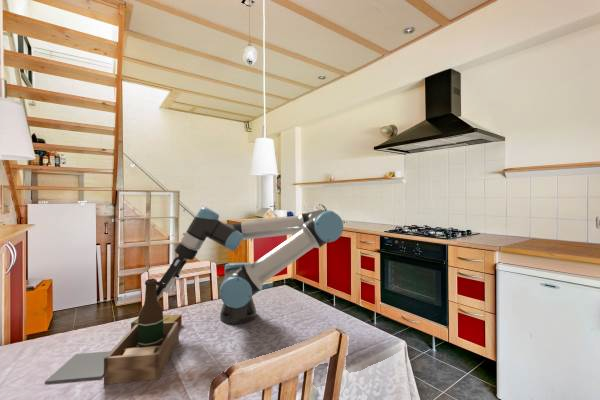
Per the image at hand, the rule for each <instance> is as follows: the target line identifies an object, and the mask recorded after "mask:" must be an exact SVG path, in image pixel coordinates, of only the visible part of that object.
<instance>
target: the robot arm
mask: <svg viewBox="0 0 600 400" xmlns="http://www.w3.org/2000/svg"><path fill="white" fill-rule="evenodd" d="M219 218H220V214H219V213H217V212H215V211H214V210H212V209H210V208H208V207H206V206H203V207H201V208H200V209H199V211H198V212H197V213H196V215H194V217H193V219H192V222H191V223H190V224H189V226H188V228H187V229H186V232H183V233H182V237H181V239H180V241H179V242H178V244H177V245H176V247H175V249H174V252H175V254H177V255H178V256H176V257H174V259H173V261H172V262H171V264H170V266H169V267H168V268H167V270H166V271H165V273H164V275H162V278H161V279H160V280H159V281H157V283H156V290H157V301H158V302H159V300H160V298H161V297H162V295H163V293H165V294H168V293H169V291H170V289H171V287H172V286H173V284H174V282H175V281H176V279H179V278H180V276H181V275H180V274H181V272H182V269H183V268H184V266H185V265H186V264H187V260H189V261H190V260H194V259H195V258H196V255H197V254H198V252H199V250H201V248H202V246H203V244H204V243H205V241H206V239H207V238H208V239H209V240H212V241H213V242H215V243H217V244H219V245H220V246H222V247H224V248H225V249H228V250H230V251H233V252H234V251H236V250H237V249H238V247H239V246H240V244H241V242H242V241H243V240H244V241H245V240H252V239H262V238H270V237H281V236H289V235H290V237H289V238H287V239H286V240H284V241H282V242H281V243H279V244H278V246H276V247H275V248H273V249H272V250H270V251H269V252H267V253H265V254H263V256H262V257H259V258H258V259H257V260H256V261H254V262H252V263H250V262H229V263H226V264H225V265H224V278H223V280H222V282H221V284H220V286H219V297H220V300H221V301H222V306H221V310H220V316H219V317H220V318H219V319H220V321H221V322H223V323H226V324H231V325H233V324H234V325H236V324H237V325H240V324H244V323H248V322H250V321H253V320H254V319H255V318H256V317H257V309H256V306H255V303H254V299H253V296H255V295H256V294H257V293H258V292H260V291H261V290H262V289H263V286H264V285H263V284H264V283H266V282H267V281H269V280H270V279H271V278H272V277H274V276H275V275H277V274H278V273H280V272H281V271H282V270H284V269H286V268H287V267H288V266H290V265H291V264H293V263H294V262H296V260H298V259H299V258H301V257H302V256H304V255H305V254H306V253H308V252H309V251H311V250H313V249H314V248H317V249H320V248H321V247H323V246H325V245H326V244H327V243H332V242H335V241H337V240H338V239H339V238H340V237H341V236H342V234H343V231H344V222H343V219H342V218H341V216H340V215H339V214H338V213H336V212H335V211H333V210H324V209H318V210H314V211H311V212H310V211H309V212H304V213H300V214H298V215H297V216H289V217H281V218H271V219H261V220H253V221H243V222H242V221H241V222H227V223H224V222H222V221H220V220H219Z"/></svg>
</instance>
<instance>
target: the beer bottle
mask: <svg viewBox="0 0 600 400" xmlns="http://www.w3.org/2000/svg"><path fill="white" fill-rule="evenodd" d="M157 280H158V279H157V278H149V279H146V280H145V281H144V285H145V293H144V301H143V302H144V304H143V305H142V307H141V308H140V310H139V313H138V318H139V319H138V318H137V319H138V346H137V348H138V347H151V346H161V344H162V343H163V315H164V312H163V309H162V306H161V305H160V304H159V300H158V301H157V290H156V288H157V284H156V283H157V282H158V281H157Z"/></svg>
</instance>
